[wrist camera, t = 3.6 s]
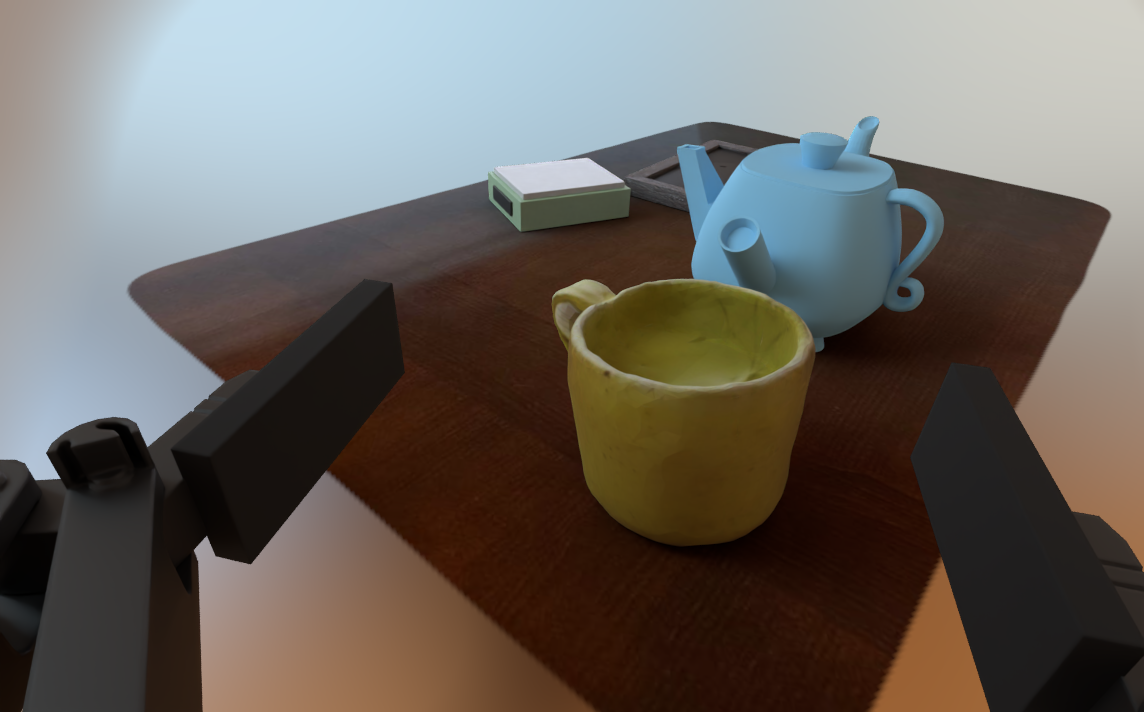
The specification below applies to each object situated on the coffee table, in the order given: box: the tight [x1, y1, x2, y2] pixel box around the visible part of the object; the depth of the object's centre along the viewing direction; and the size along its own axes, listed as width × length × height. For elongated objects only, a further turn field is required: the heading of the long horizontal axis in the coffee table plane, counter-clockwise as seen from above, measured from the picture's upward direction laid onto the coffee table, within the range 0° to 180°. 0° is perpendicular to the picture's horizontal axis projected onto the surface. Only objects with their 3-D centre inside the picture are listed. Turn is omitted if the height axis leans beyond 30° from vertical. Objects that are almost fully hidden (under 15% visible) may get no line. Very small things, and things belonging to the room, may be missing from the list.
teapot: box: [677, 116, 944, 352], centre depth 39 cm, size 15×14×11 cm
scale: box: [488, 158, 631, 232], centre depth 55 cm, size 10×8×3 cm
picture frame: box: [624, 140, 759, 212], centre depth 62 cm, size 13×2×18 cm
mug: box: [552, 279, 816, 547], centre depth 27 cm, size 12×10×10 cm
